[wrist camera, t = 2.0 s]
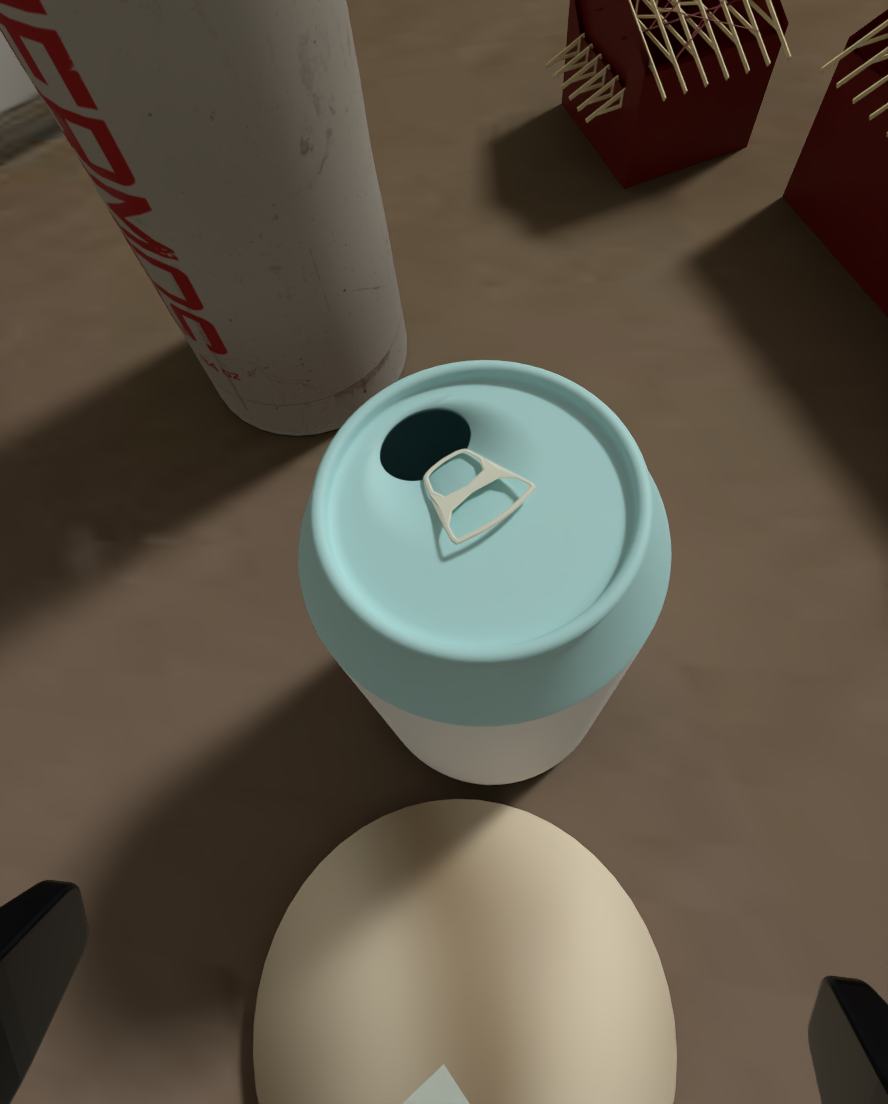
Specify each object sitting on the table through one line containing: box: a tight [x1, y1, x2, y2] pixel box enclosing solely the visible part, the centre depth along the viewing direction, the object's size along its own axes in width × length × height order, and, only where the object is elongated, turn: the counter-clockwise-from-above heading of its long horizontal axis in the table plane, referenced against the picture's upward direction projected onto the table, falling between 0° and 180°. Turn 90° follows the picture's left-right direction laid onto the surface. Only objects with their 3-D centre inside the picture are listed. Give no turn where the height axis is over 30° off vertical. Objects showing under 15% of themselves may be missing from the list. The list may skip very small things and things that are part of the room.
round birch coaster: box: [253, 799, 677, 1104], centre depth 19 cm, size 11×11×1 cm
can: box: [299, 360, 671, 785], centre depth 17 cm, size 7×7×12 cm
